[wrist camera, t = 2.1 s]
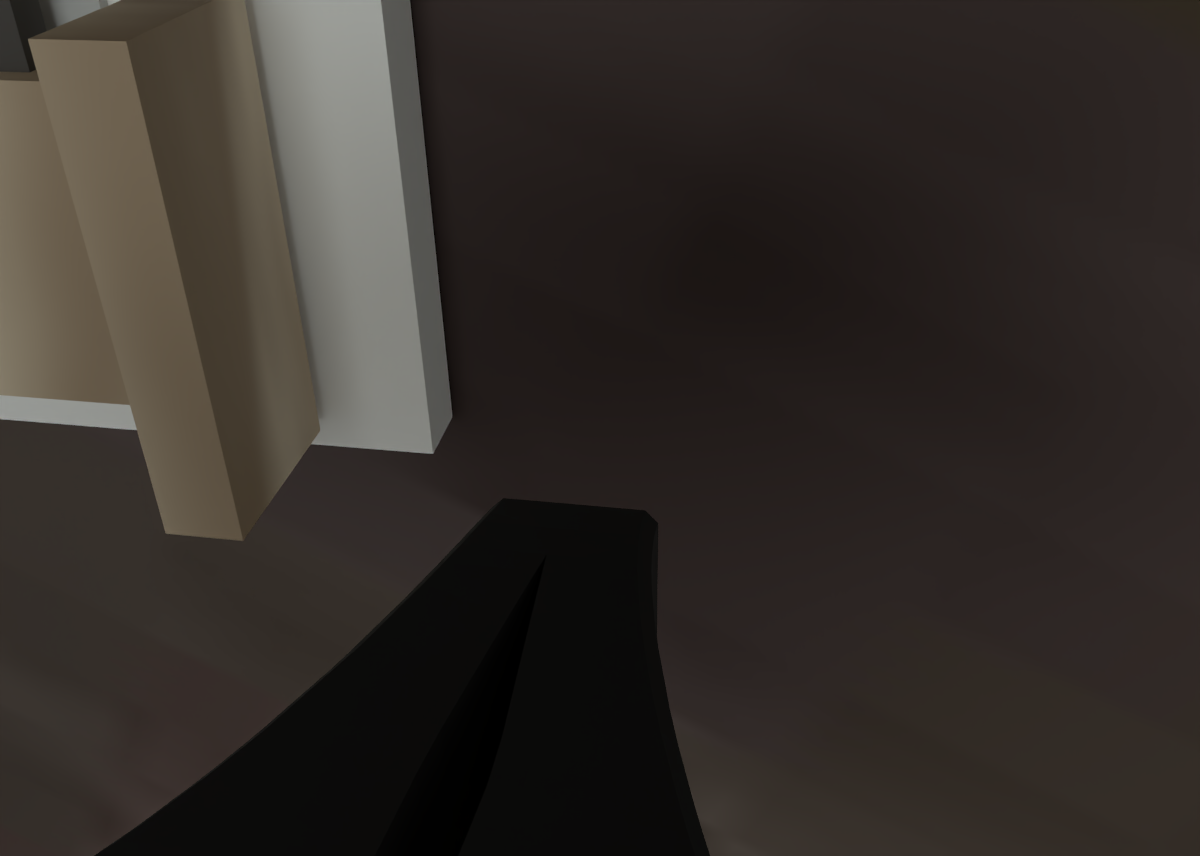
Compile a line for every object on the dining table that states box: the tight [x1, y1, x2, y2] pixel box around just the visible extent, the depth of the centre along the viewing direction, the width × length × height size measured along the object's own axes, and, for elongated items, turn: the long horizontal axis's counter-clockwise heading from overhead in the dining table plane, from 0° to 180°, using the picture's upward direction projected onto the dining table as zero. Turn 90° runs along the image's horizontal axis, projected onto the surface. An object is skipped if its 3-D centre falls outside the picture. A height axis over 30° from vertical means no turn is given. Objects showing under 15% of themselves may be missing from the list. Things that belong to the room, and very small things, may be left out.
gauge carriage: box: [0, 0, 320, 541], centre depth 16 cm, size 5×9×3 cm, turn 1°
